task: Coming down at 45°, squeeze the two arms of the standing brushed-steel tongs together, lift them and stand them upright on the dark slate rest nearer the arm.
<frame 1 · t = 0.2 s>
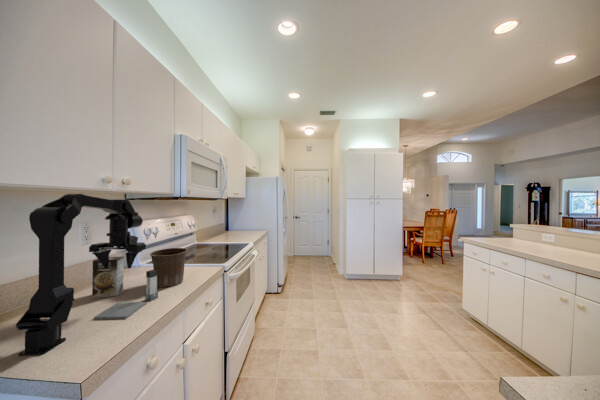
hand: (118, 268, 89), 14 cm above the worktop, tool pointing down, fingers open, 9 cm apart
slate rest: (121, 311, 83), on the worktop
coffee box: (108, 294, 98), on the worktop
plant pot: (169, 283, 111), on the worktop
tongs: (151, 299, 93), on the worktop
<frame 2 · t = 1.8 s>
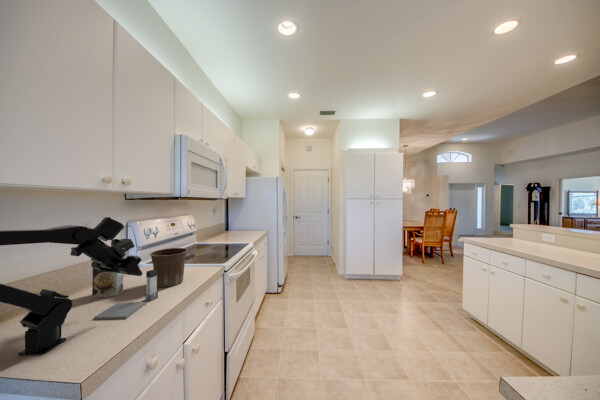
hand: (132, 273, 86), 13 cm above the worktop, tool tilted 45°, fingers open, 9 cm apart
nothing on the worktop moved.
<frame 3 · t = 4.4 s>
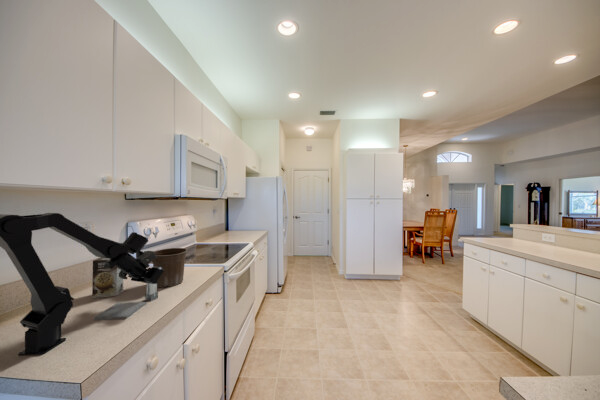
hand: (154, 282, 94), 7 cm above the worktop, tool tilted 45°, fingers closed on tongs, 2 cm apart
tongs: (151, 299, 93), on the worktop, touching gripper
everything else where it was.
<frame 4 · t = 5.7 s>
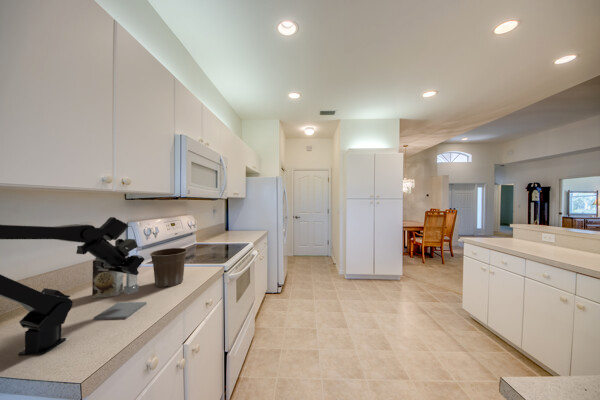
hand: (135, 273, 87), 13 cm above the worktop, tool tilted 45°, fingers closed on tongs, 2 cm apart
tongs: (131, 291, 86), point 6 cm above the worktop, touching gripper
everything else where it was.
when the fingers open (8 cm above the worktop, at t = 7.0 s): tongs stays where it is, resting on slate rest.
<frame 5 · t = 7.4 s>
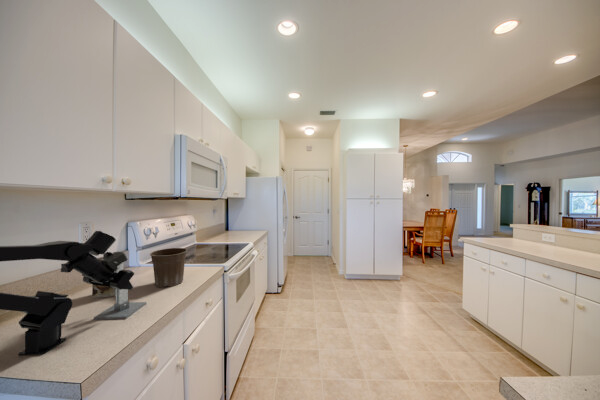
hand: (125, 287, 84), 9 cm above the worktop, tool tilted 45°, fingers open, 6 cm apart
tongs: (121, 309, 83), point 1 cm above the worktop, touching slate rest
everything else where it was.
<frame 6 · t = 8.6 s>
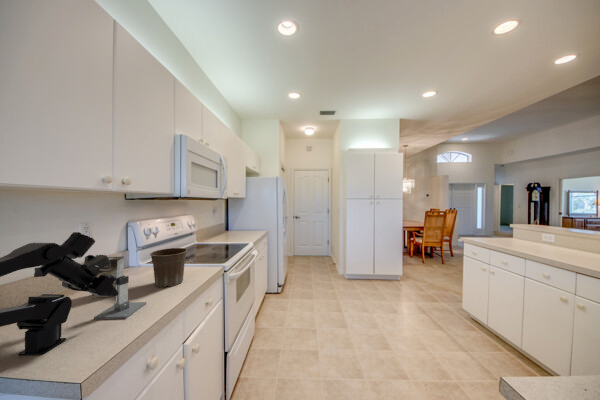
hand: (108, 292, 78), 9 cm above the worktop, tool tilted 45°, fingers open, 9 cm apart
nothing on the worktop moved.
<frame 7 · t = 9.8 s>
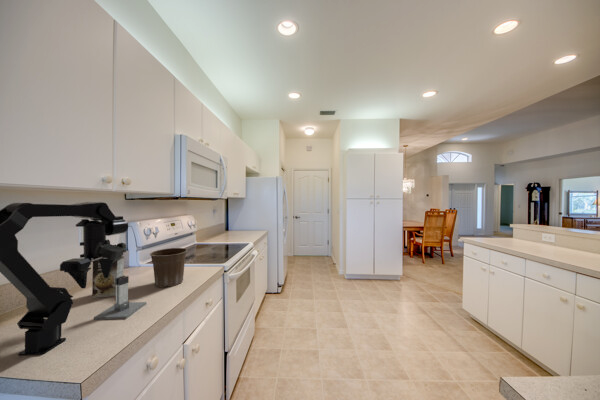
hand: (95, 282, 76), 13 cm above the worktop, tool pointing down, fingers open, 9 cm apart
nothing on the worktop moved.
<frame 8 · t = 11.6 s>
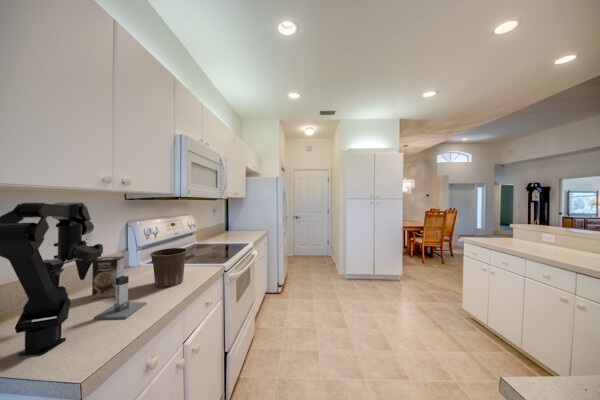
hand: (69, 284, 75), 13 cm above the worktop, tool pointing down, fingers open, 9 cm apart
nothing on the worktop moved.
at the end: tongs inside the target area on the slate rest (0.0 cm from its centre), point 0.8 cm above the slate rest's base; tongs tilted 0°; the gripper is holding nothing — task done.
